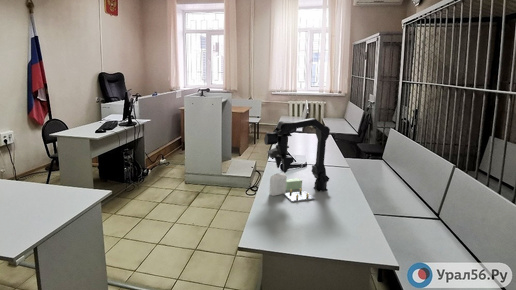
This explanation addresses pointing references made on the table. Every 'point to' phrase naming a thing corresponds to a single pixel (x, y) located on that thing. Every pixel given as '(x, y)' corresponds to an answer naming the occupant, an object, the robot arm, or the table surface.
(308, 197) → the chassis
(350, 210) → the table surface
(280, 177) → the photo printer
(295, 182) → the block
